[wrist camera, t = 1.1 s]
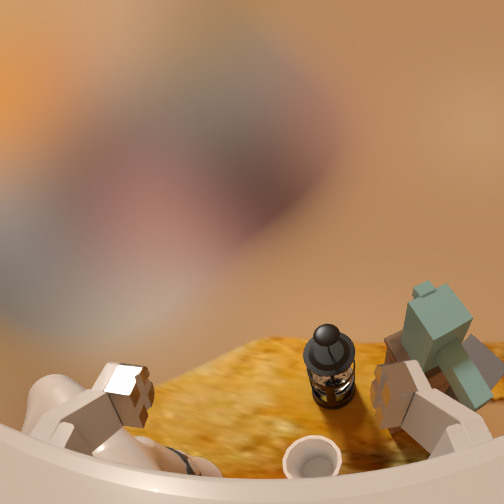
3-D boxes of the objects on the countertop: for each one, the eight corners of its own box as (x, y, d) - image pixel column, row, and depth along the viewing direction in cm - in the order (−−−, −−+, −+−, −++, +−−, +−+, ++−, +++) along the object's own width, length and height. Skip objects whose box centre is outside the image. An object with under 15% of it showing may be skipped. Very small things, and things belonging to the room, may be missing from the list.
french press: (354, 412, 58) (356, 363, 43) (309, 412, 61) (293, 364, 46) (356, 363, 66) (355, 299, 51) (314, 364, 69) (300, 302, 54)
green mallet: (486, 406, 29) (513, 376, 23) (449, 430, 29) (473, 406, 23) (429, 316, 41) (439, 274, 36) (395, 333, 41) (401, 292, 36)
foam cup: (292, 454, 55) (280, 439, 46) (338, 445, 53) (336, 429, 45) (296, 496, 47) (285, 492, 39) (345, 488, 46) (345, 482, 38)
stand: (430, 414, 51) (468, 355, 35) (389, 435, 51) (411, 387, 35) (413, 382, 58) (438, 311, 41) (374, 401, 58) (384, 338, 41)
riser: (455, 428, 47) (474, 408, 39) (423, 394, 55) (435, 370, 48) (488, 392, 49) (508, 367, 42) (456, 362, 57) (471, 333, 50)
